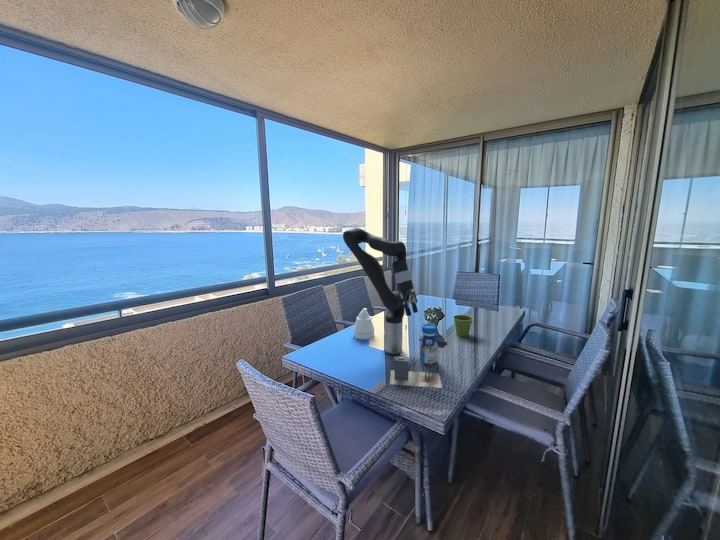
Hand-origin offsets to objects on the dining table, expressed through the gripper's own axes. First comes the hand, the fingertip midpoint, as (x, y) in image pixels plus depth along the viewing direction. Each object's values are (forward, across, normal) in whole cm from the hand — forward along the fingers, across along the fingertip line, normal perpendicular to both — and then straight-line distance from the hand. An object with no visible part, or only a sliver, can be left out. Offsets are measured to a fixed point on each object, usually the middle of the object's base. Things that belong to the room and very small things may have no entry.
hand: (412, 314), depth 138 cm
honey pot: (+10, -24, -46) cm, 53 cm away
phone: (+22, -37, -8) cm, 44 cm away
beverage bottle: (+27, -9, -3) cm, 28 cm away
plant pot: (+24, -56, +4) cm, 61 cm away
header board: (+28, +10, -3) cm, 30 cm away
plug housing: (+25, +12, -8) cm, 29 cm away
